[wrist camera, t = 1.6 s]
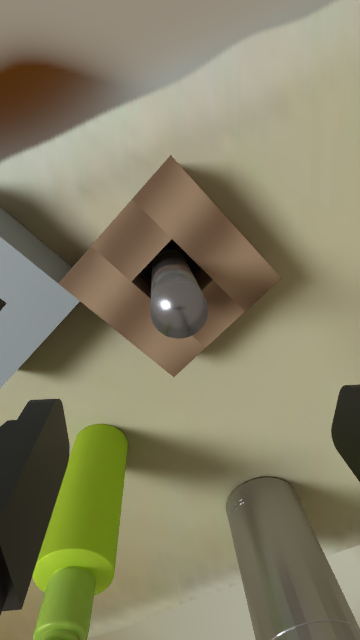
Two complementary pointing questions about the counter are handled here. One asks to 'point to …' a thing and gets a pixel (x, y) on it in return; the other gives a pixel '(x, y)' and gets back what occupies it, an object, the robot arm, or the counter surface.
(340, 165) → the counter surface
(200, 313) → the steel pin
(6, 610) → the robot arm
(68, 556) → the soap dispenser
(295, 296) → the counter surface
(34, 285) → the socket block
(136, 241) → the holder block
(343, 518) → the counter surface
